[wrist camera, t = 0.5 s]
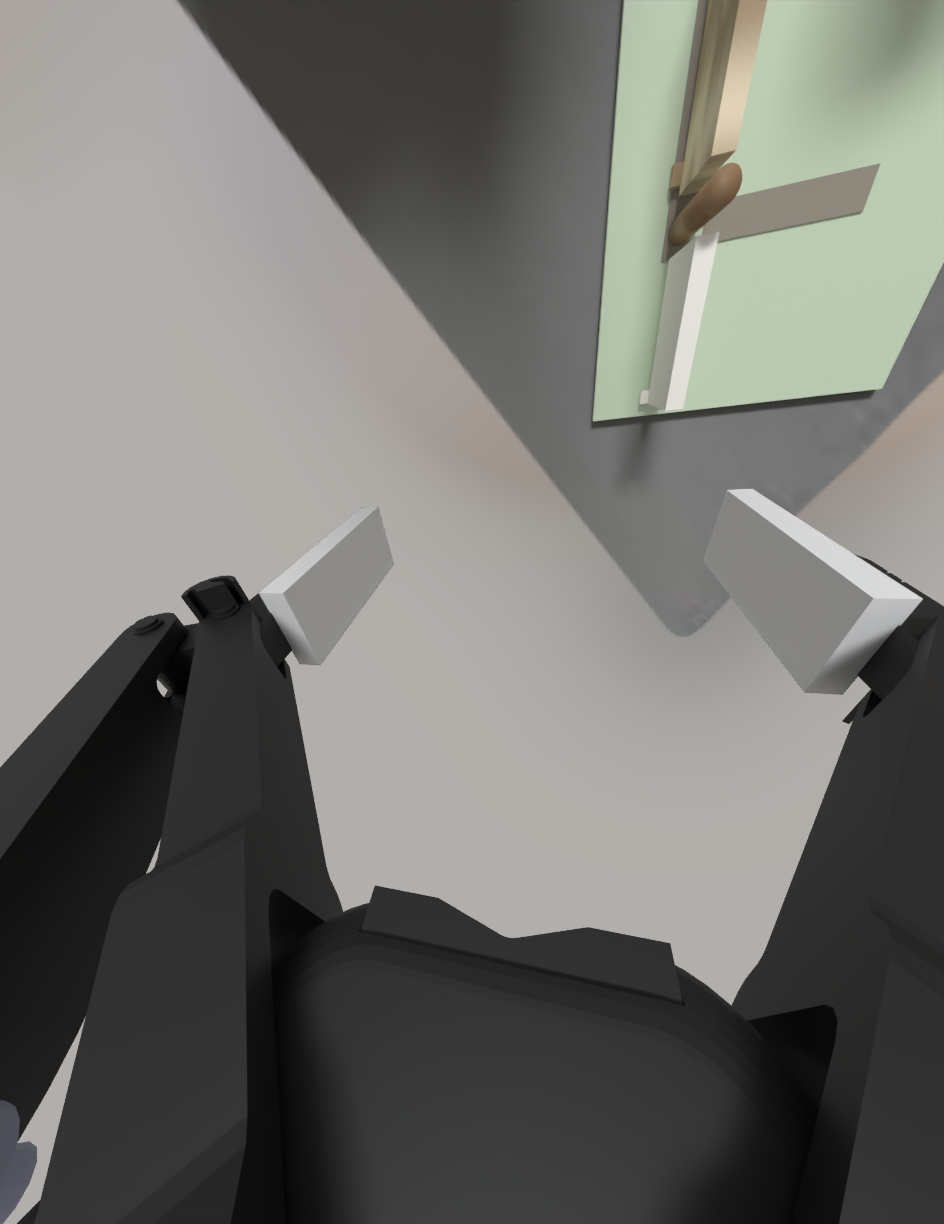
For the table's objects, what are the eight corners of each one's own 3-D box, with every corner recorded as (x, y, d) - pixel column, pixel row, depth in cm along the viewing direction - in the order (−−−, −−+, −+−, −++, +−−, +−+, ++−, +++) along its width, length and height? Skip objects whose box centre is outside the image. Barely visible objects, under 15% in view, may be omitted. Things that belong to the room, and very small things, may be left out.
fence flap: (658, 262, 25) (685, 238, 20) (694, 255, 24) (731, 229, 20) (638, 404, 30) (656, 411, 25) (668, 400, 29) (691, 407, 25)
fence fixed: (702, -76, 18) (788, -314, 12) (754, -96, 17) (872, -357, 11) (657, 251, 25) (695, 214, 19) (693, 244, 25) (745, 203, 18)
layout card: (629, -83, 18) (631, -96, 18) (1215, -321, 14) (1244, -351, 13) (592, 420, 32) (593, 421, 31) (876, 388, 27) (882, 388, 27)
